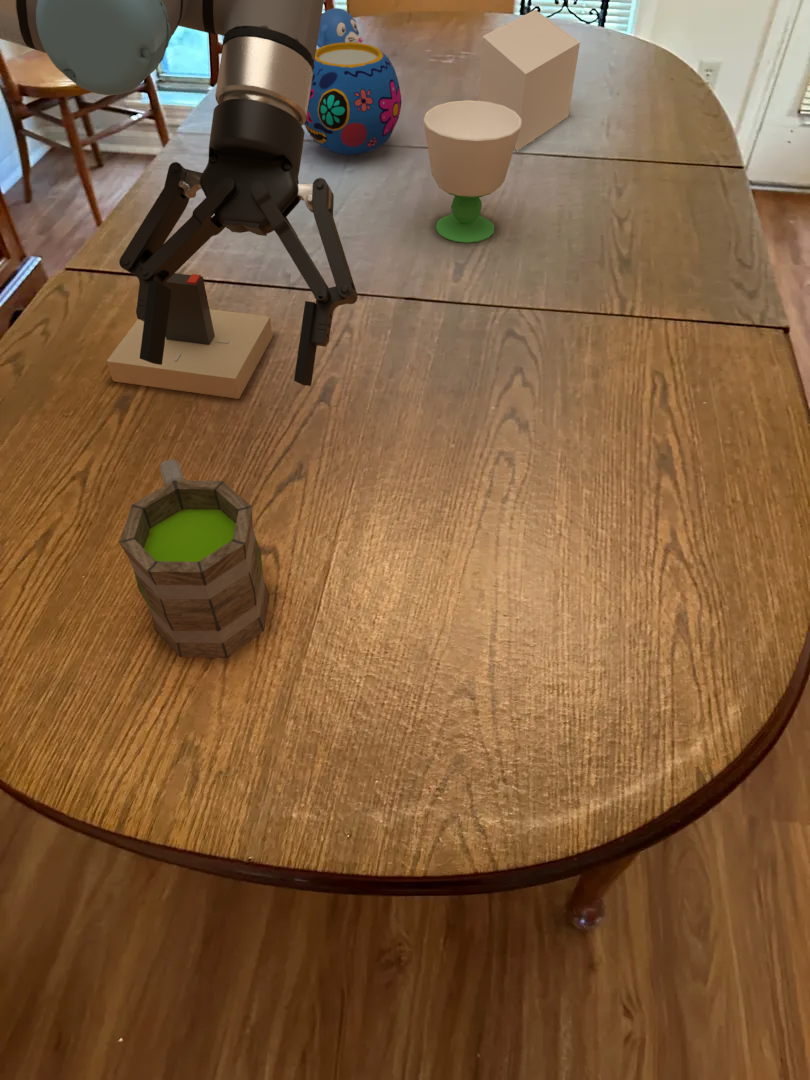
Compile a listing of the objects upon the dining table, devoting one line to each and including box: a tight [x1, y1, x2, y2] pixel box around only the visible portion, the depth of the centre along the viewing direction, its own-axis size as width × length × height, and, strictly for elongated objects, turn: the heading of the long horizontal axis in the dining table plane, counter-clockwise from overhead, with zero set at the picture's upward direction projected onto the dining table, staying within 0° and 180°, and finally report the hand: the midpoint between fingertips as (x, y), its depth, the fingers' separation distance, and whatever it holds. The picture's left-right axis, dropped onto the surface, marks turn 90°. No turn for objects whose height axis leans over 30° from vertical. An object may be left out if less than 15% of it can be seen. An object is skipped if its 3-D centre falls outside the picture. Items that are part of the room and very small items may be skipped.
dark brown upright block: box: [163, 272, 215, 345], centre depth 93 cm, size 6×2×8 cm, turn 79°
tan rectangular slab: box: [106, 308, 273, 400], centre depth 97 cm, size 16×13×3 cm
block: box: [477, 9, 581, 152], centre depth 146 cm, size 18×35×12 cm, turn 171°
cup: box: [422, 99, 522, 244], centre depth 114 cm, size 14×14×16 cm
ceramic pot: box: [303, 42, 402, 156], centre depth 133 cm, size 18×18×15 cm
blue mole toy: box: [317, 7, 364, 49], centre depth 166 cm, size 12×12×8 cm
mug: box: [118, 458, 270, 659], centre depth 70 cm, size 16×11×12 cm
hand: (225, 373), depth 67 cm, fingers open, 13 cm apart
